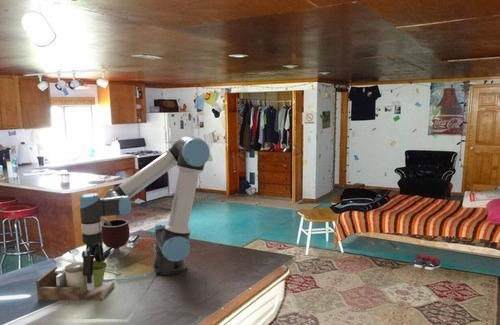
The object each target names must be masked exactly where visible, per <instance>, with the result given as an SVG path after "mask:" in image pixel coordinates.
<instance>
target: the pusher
mask: <svg viewBox="0 0 500 325" xmlns="http://www.w3.org/2000/svg"><path fill="white" fill-rule="evenodd" d="M65 267H66V266H58V267H57V269H56V270H55V273H60V274H58V275H57V276H56V283H57V287H67V285H66V272H65Z"/></svg>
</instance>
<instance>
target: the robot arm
mask: <svg viewBox="0 0 500 325" xmlns="http://www.w3.org/2000/svg"><path fill="white" fill-rule="evenodd" d="M210 150H211V149H210V147H209V145H208V143H207V142H205V141H204V140H203V139H202V138H199V137H195V136H192V135H186V136H183V137H181V138H180V139H178V140H177V141H175V142H174V143H173V144H171V145H169V146H168V147H167V148H166V149H165V152H164V153H162V154H161V155H159V157H157V158H156V159H154V160H152V161H151V162H150V163H149V164H147V165H146V166H144V167H143V168H141V169H140V170H138V171H137V172H136V173H135V174H132V176H130V177H128V178H127V179H126V180H124V181H122V182H121V183H120V184H119V185H117V186H116V187H114V188H111V189H108V190H107V191H106V192H105V195H104V197H100V194H98V193H97V192H96V193H95V192H92V193H84V194H82V195H81V196H80V197H79V213H80V223H81V224H80V226H81V238H82V239H81V240H82V241H81V242H82V243H83V244H84V245H86V248H85V250H82V262H83V276H86V279H87V290H95V286H94V274H92V273H93V271H92V270H93V264H94V261H97V262H101V261H103V262H105V260H106V258H105V257H104V254H105V252H104V243H103V241H102V232H101V230H102V218H101V217H104V218H105V217H112V216H124V215H128V214H131V212H132V200H131V198H133V196H135V195H137V194H138V193H139V192H141V191H143V190H144V189H145V188H146V187H148V186H149V185H151V184H152V183H153V182H155V181H156V180H157V179H159V178H160V177H162V176H163V175H164V174H166V173H167V172H169V171H170V170H172V169H173V168H174V167H177V168H178V170H179V171H178V175H177V181H176V185H175V189H174V190H175V191H174V195H173V200H172V203H171V204H172V205H171V210H170V214H169V215H170V216H169V219H168V220H165V221H160V222H157V223H156V224H155V225H154V232H155V233H154V235H155V258H154V262H153V265H152V272H153V273H155V274H156V275H158V276H173V275H178V274H180V273H183V272H184V271H185V270H186V262H185V258H187V256H188V255H189V253H190V251H191V243H190V241H189V240H190V238H191V237H190V236H191V232H192V231H191V229H190V227H189V223H190V220H191V215H192V209H193V204H194V200H195V196H196V195H195V194H196V191H197V190H196V189H197V184H198V180H199V175H200V174H201V173H202V172H203V171H204V168H205V164H206V163H207V162H208V160H209V158H210V156H211V151H210ZM103 281H104V278H103Z"/></svg>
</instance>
